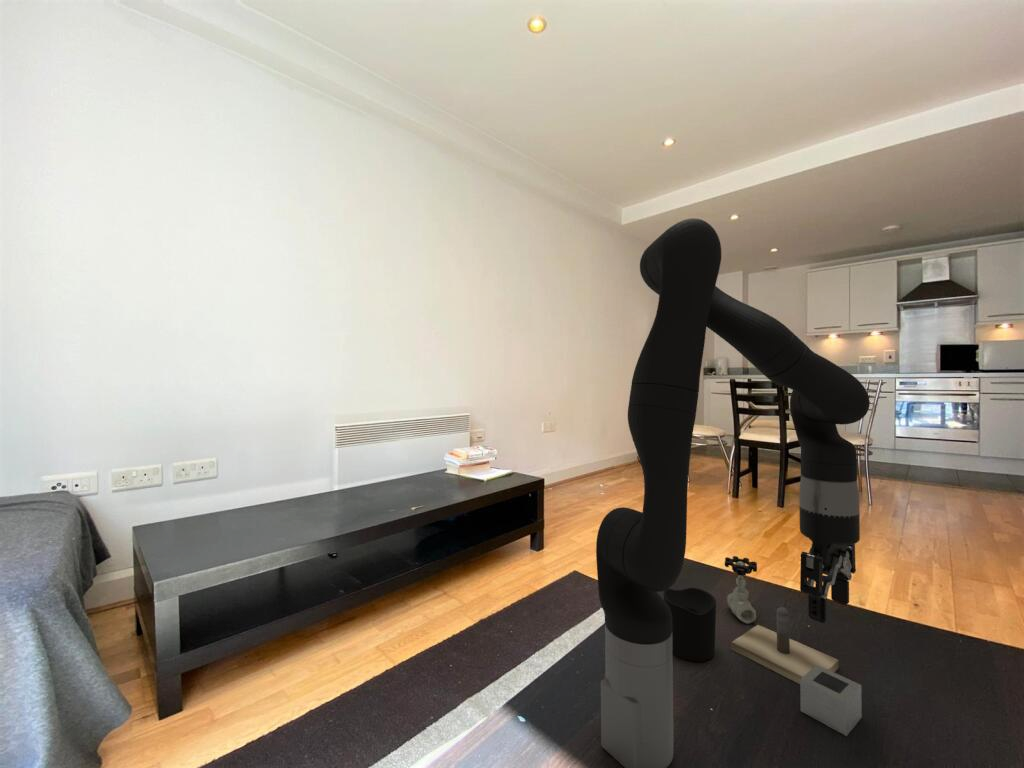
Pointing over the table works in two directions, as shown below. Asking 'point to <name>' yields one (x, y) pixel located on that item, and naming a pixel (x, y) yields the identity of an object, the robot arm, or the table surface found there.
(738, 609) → the valve
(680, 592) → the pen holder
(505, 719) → the table surface
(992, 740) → the table surface
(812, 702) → the block
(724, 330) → the robot arm
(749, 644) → the shaft stand
